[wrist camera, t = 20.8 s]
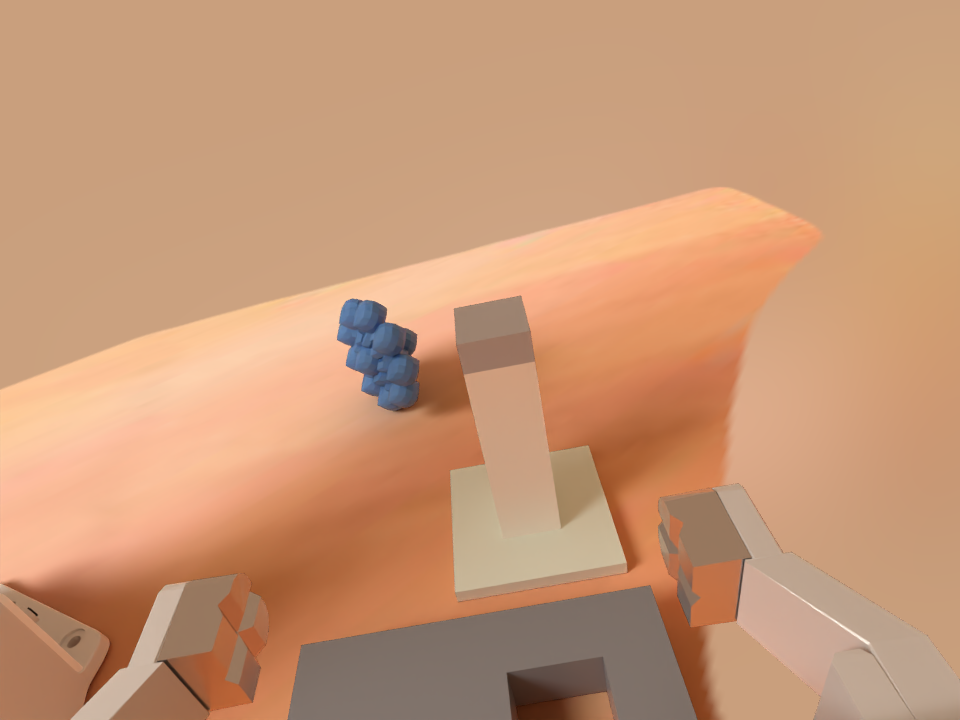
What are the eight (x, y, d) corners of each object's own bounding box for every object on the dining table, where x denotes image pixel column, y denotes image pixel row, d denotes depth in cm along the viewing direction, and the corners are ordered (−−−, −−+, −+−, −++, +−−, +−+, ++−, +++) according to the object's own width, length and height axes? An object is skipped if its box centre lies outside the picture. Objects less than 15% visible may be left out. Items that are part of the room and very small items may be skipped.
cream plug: (503, 539, 41) (456, 344, 32) (497, 495, 44) (453, 308, 35) (561, 528, 41) (530, 330, 32) (551, 485, 44) (521, 295, 35)
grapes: (468, 409, 55) (439, 294, 48) (407, 448, 52) (368, 332, 45) (400, 364, 63) (367, 260, 56) (344, 396, 60) (303, 291, 53)
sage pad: (457, 601, 39) (454, 592, 38) (452, 479, 48) (450, 470, 47) (627, 572, 38) (626, 562, 38) (589, 454, 47) (588, 445, 47)
